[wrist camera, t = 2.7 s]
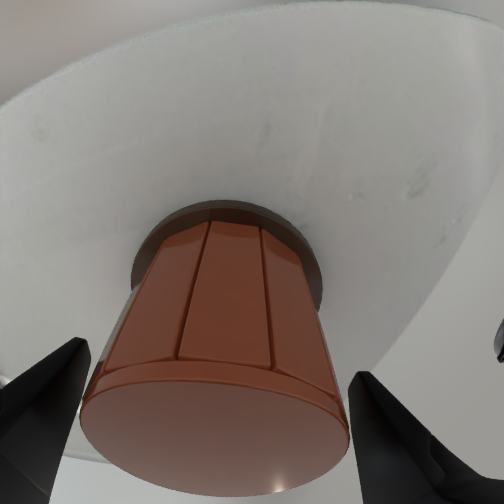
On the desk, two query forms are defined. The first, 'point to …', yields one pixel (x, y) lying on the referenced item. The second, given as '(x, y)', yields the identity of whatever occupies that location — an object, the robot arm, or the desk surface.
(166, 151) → the desk surface
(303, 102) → the desk surface
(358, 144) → the desk surface
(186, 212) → the holder
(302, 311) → the orange ribbed cylinder
